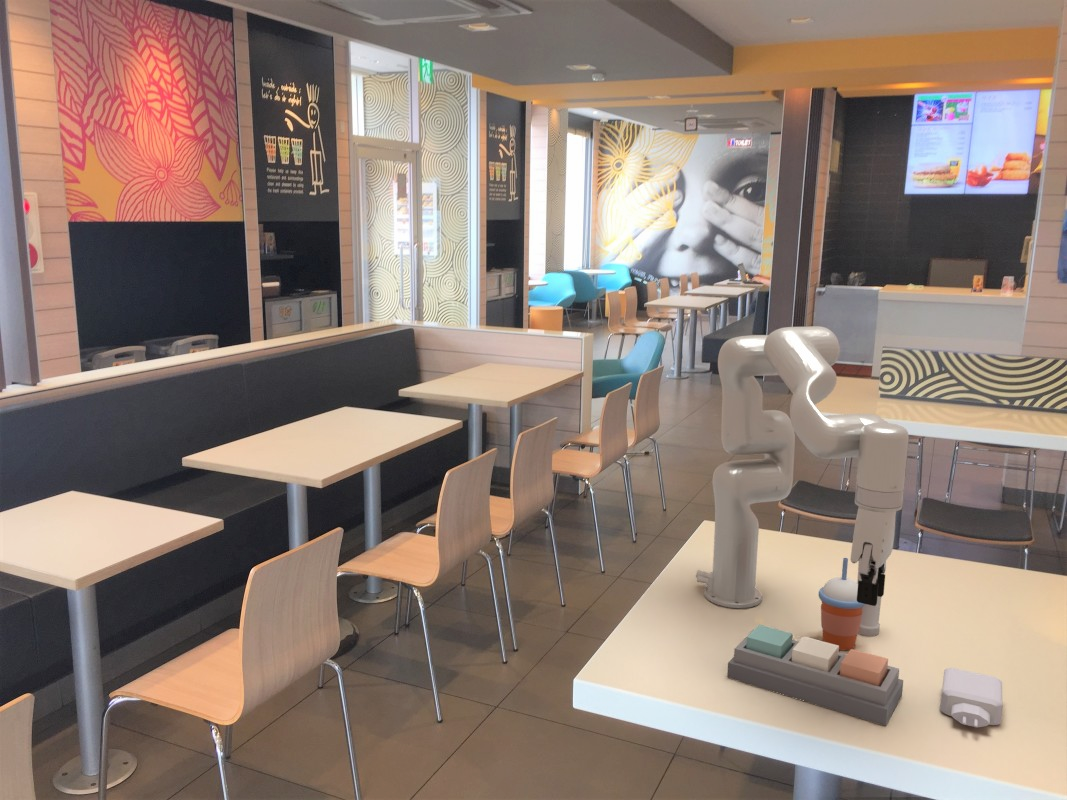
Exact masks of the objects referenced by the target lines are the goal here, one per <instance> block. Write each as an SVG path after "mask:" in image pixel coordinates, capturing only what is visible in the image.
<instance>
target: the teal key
mask: <svg viewBox="0 0 1067 800" xmlns="http://www.w3.org/2000/svg"><path fill="white" fill-rule="evenodd" d="M793 635H794V634H793V633H792V632H789V631H786V630H781V629H778V628H774V627H771V626H766V625H761V624H759V625H758V626H756V627H755V628H754V629H752V631H750V632H749V633H748V634H747V635H746V637H747V645H746V649H749V650H752V651H756V652H759V653H763V654H767V655H770V656H774V657H777V658H781V659H782V658H783V657H784V656H785V655H786V654H787V652H788V651H789V650H790V649H791V648H792V640H793Z"/></svg>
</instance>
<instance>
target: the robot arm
mask: <svg viewBox="0 0 1067 800" xmlns="http://www.w3.org/2000/svg"><path fill="white" fill-rule="evenodd" d="M720 347H721V348H720V349H719V353H718V355H717V356H718V358H717V369H718V374H719V375H718V377H719V379H720V384H721V391H722V395H721V396H722V397H721V400H722V401H721V429H720V430H721V432H720V433H721V434H720V435H721V437H720V439H721V444H722V447H723V450H724V451H725V452H726V453H728V454H729V455H733V456H751V455H752V456H753V455H764V458H758V459H755V458H754V459H752V458H751V459H741V460H739V459H738V460H731V461H727V462H726V461H725V462H723V463H721V464H719V465H718V466H716V468H715V469H714V471H713V473H712V483H711V484H712V490H713V497H714V514H715V515H714V536H713V537H714V538H713V540H714V541H713V556H712V557H713V558H712V559H713V560H712V571H711V572H707V571H704V570H703V571H702V570H700V569H698V570H697V571H696V573H695V578H696V582H697V583H700V584H705V586H706V587H705V588H704V597H705V598H706V599H707V601H709V602H711V603H713V604H715V605H718V606H722V607H725V608H731V609H748V608H752V607H755V606H757V605H760V603H762V600H763V599H762V598H763V595H762V592H761V591H760V590H759V589H758V588H757V587H756V583H757V582H756V580H757V563H758V561H757V560H758V547H759V546H758V545H759V533H760V531H759V529H760V526H759V525H760V523H759V520H758V517H757V516H756V514H755V513H754V512H753V510H752V509H751V508H752V507H751V505H752V504H757V503H768V502H777V501H778V502H779V501H782V500H784V499H786V498H787V497H788V496H789V495H790V494H791V491H792V489H793V483H794V468H795V467H794V462H795V445H796V442H795V441H796V436H797V437H798V439H799V440H800V441H801V443H802V444H803V445H804V447H805V448H806V449H807V451H809V452H810V453H811V454H812V455H814V456H815V457H817V458H819V459H824V460H833V459H845V458H846V459H849V458H857V467H856V469H857V470H856V481H855V483H856V484H855V493H854V504H855V505H856V506H858V509H857V512H856V518H855V523H854V529H853V536H852V545H851V552H850V562H851V563H852V564H856V563H859V559H860V558H861V563H860V569H859V580H858V579H857V581H858V590H857V602H859V603H863V604H868V605H872V606H876V604H877V597H878V596H879V597H881V598H882V597H883V596H884V594H885V593H884V592H885V583H886V582H885V581H886V569H887V567H886V566H887V560H888V559H889V558H890V556H891V554H892V553H893V548H894V541H895V532H896V531H895V530H896V514H897V512H898V511H900V510H902V509H903V506H904V505H903V504H904V493H905V482H906V471H907V460H908V459H907V458H908V452H909V451H908V448H909V438H910V437H909V432H908V430H907V429H906V428H905V427H904V426H902V425H899V424H897V423H891V422H890V423H889V422H888V421H886V420H885V419H884V418H883V417H881V416H879V415H877V414H873V413H855V414H854V413H847V414H832V415H831V414H830V415H825V414H824V413H822V412H821V411H820V410H819V409H818V407H817V406H816V405H817V404H819V403H820V402H822V401H823V400H824V399H826V398H827V397H829V395H831V393H832V392H833V391H834V389H835V387H836V384H837V373H836V371H835V370H834V369H833V367H832V366H834V365H835V364H836V363H837V361H838V360H839V357H840V353H841V352H840V351H841V347H840V342H839V340H838V337H837V336H836V334H835V333H834V332H833V331H832V330H830V329H829V328H827V327H825V326H820V325H817V326H815V325H813V326H810V325H809V326H787V327H780V328H777V329H774V330H773V331H771V332H770V333H769V334H758V335H757V334H753V335H741V336H735V337H732V338H729V339H728V340H726V341H725V342H724V343H723V344H722V345H721V346H720ZM757 376H759V377H761V376H764V377H766V376H768V377H769V376H779V377H780V379H781V380H782V381H783V382H784V384H785V385H786V387H787V388H788V389H789V391H790V392H791V393H792V396H791V400H790V404H789V416H790V417H789V416H788V414H787V413H786V412H784V411H782V410H776V409H770V410H765V409H764V410H763V400H764V398H763V397H764V394H763V390H762V387H761V385H760V382H759V381H758V380H757V378H756V377H757ZM795 434H796V435H795ZM881 573H883V574H881Z"/></svg>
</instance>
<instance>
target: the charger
mask: <svg viewBox="0 0 1067 800" xmlns="http://www.w3.org/2000/svg"><path fill="white" fill-rule="evenodd" d="M939 710H940V712H941V713H942V714H944V715H947V716H949V717H952V718H953V719H954V720H956V721H957V722H959V723H960V724H961V725H965V726H969V727H974V728H982V727H987V726H999V725H1000V724H1001V722H1002V712H1003V682H1002V680H1001V679H1000V678H998V677H996V676H993V675H988V674H982V673H979V672H975V671H969V670H965V669H959V668H955V667H946V668H945V669H944V671H943V680H942V687H941V698H940V707H939Z"/></svg>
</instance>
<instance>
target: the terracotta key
mask: <svg viewBox="0 0 1067 800" xmlns="http://www.w3.org/2000/svg"><path fill="white" fill-rule="evenodd" d="M888 666H889V658H887V657H882V656H879V655H875V654H872V653H868V652H864V651H859V650H856V649H854V648H853V649H850V650H848V652H847V655H846V656H845V658H844V659H843V661H842V662H841V668H840V675H841V676H844V677H848V678H851V679H855V680H858V681H862V682H865V683H869V684H872V685H876V686H879V687H880V685H881V684H882V682H883V680H884V679H885V677H886V675H887V668H888Z"/></svg>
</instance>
